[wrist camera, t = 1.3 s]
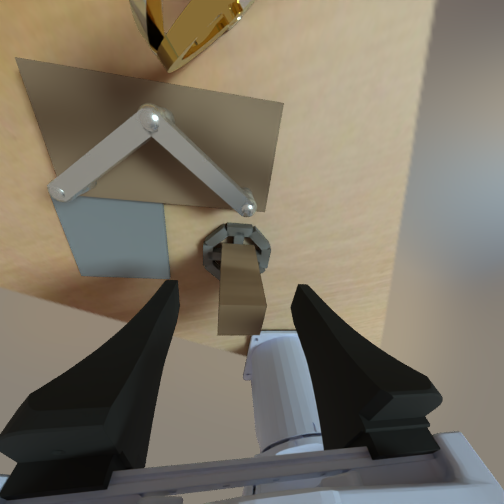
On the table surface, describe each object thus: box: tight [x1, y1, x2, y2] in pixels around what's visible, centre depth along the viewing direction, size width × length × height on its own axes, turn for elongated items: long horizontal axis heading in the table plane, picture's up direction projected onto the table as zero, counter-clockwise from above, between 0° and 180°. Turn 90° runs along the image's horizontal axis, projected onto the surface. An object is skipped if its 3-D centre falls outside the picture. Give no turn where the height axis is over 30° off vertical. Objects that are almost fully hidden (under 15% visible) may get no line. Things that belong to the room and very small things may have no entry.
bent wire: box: [47, 103, 257, 217], centre depth 11 cm, size 5×10×4 cm, turn 83°
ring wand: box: [203, 223, 271, 335], centre depth 14 cm, size 5×5×7 cm
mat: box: [50, 195, 171, 279], centre depth 15 cm, size 6×6×1 cm
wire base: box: [15, 57, 284, 212], centre depth 12 cm, size 6×12×1 cm, turn 83°
